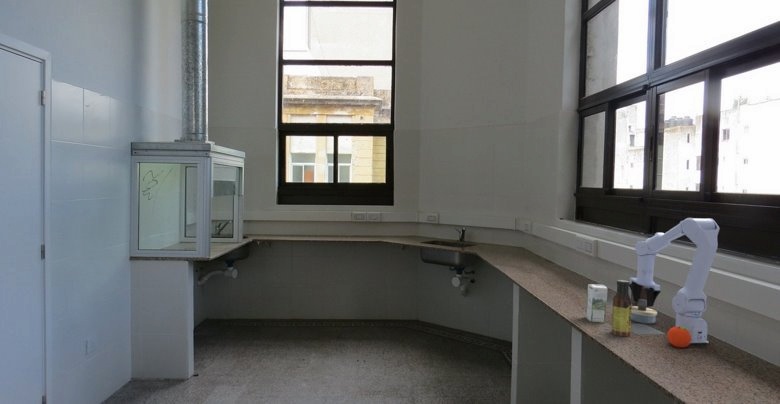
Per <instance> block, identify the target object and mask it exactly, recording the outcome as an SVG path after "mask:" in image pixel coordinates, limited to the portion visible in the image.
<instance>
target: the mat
mask: <svg viewBox="0 0 780 404" xmlns="http://www.w3.org/2000/svg"><path fill="white" fill-rule="evenodd" d="M630 333H633V334H635V335H638V336H640V335H644V336H645V335H646V336H647V335H666V332H663V331H660V330H658V329H656V328H653V327H651V326H649V325H647V324H646V323H631V332H630Z"/></svg>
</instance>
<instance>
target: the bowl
mask: <svg viewBox="0 0 780 404" xmlns="http://www.w3.org/2000/svg"><path fill="white" fill-rule="evenodd" d="M656 318H657V315H656V316H643V315H637V314H633V313H632V314H631V321H633V322H637V323H640V324H655V323H656Z"/></svg>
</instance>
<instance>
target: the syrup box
mask: <svg viewBox="0 0 780 404" xmlns="http://www.w3.org/2000/svg"><path fill="white" fill-rule="evenodd" d="M608 290H609V289H608V287H607V286H605V284H595V283H593V284H592V283H588V285H587V296H586V297H587V298H586V312H585V318H586V319H587V320H588V321H589V322H592V323H606V315H607V303H608V302H607V300H608Z"/></svg>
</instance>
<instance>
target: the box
mask: <svg viewBox="0 0 780 404" xmlns="http://www.w3.org/2000/svg"><path fill="white" fill-rule="evenodd" d="M645 289H650V288H648V287H645V286H643V288H642V290H641V295H640V299H643V300H647V296H646V292H645ZM630 292H631V293H630V299H631V302H632V306H638V301H634V299H633V295H632V291H631V290H630ZM646 308H649V307H648V306H647V307H646Z"/></svg>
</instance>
